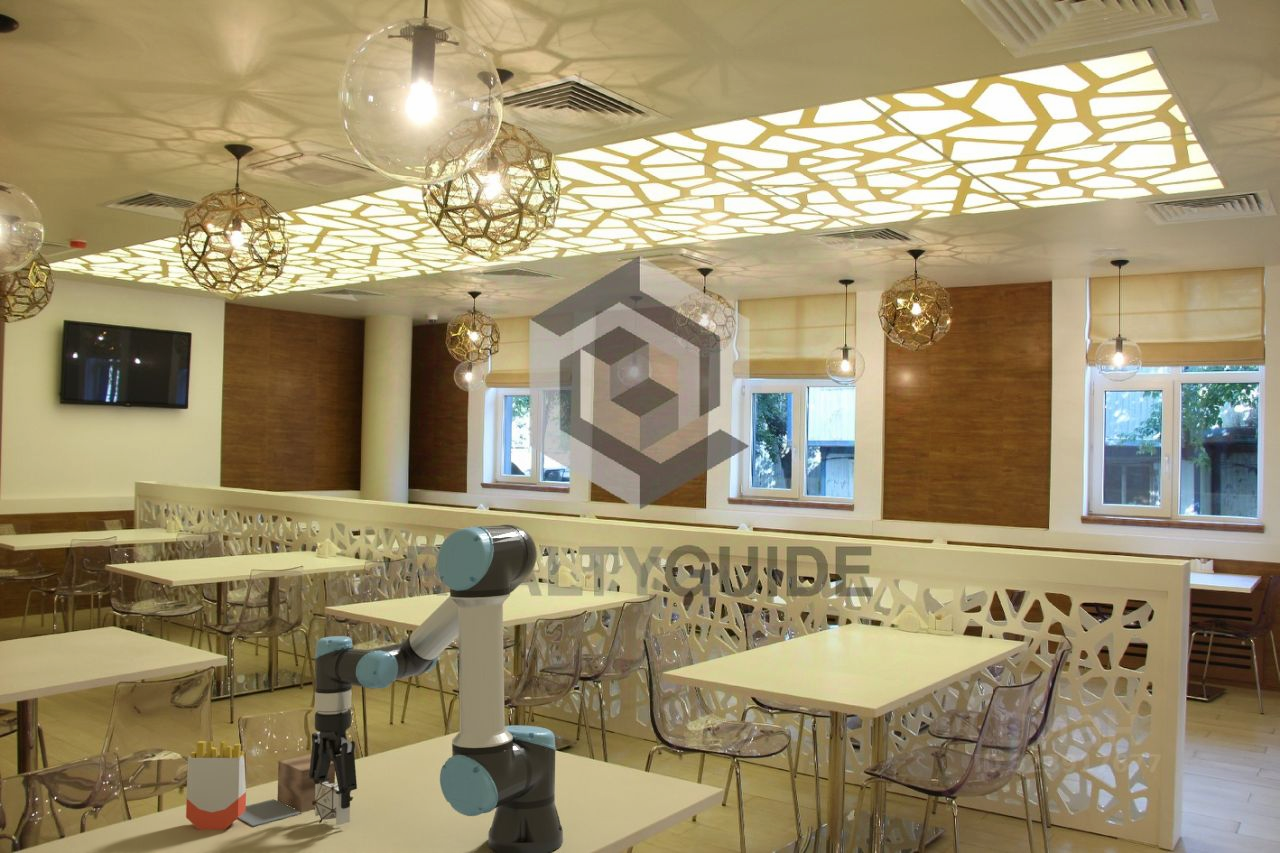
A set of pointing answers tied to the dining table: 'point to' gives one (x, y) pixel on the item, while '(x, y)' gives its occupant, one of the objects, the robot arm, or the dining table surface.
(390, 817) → the dining table surface
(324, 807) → the game die
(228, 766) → the french fries container
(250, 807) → the mat
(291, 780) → the cardboard box
